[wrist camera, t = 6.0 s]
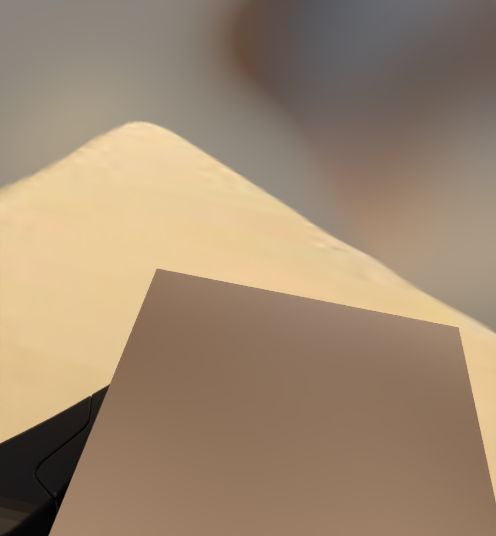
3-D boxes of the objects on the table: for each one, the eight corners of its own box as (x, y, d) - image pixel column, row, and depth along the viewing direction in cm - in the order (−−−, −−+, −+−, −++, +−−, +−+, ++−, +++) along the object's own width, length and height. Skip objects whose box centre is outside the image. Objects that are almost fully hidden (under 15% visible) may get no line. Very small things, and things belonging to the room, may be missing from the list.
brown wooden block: (278, 475, 12) (610, 1053, 2) (190, 456, 12) (-79, 849, 2) (288, 377, 14) (458, 327, 4) (212, 361, 14) (157, 268, 4)
